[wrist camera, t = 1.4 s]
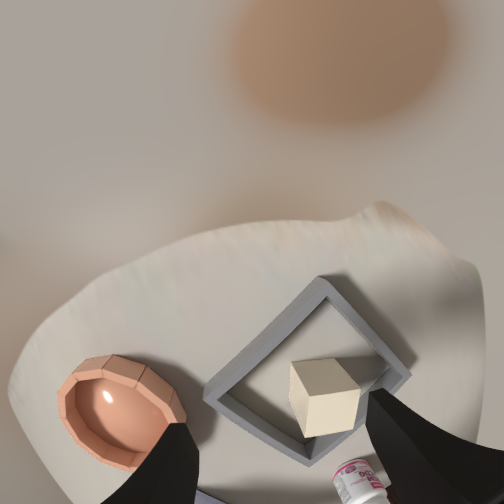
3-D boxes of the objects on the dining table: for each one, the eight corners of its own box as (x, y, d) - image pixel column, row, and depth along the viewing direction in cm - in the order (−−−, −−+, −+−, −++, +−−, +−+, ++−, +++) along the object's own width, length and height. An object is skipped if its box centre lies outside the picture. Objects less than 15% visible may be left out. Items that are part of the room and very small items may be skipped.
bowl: (211, 416, 24) (210, 435, 21) (141, 467, 23) (135, 485, 20) (109, 330, 22) (96, 342, 19) (54, 398, 22) (41, 411, 19)
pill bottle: (371, 454, 26) (401, 497, 18) (362, 478, 26) (387, 520, 18) (335, 462, 26) (360, 511, 17) (328, 485, 26) (349, 532, 18)
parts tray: (399, 365, 25) (412, 374, 23) (303, 452, 25) (308, 467, 23) (317, 275, 24) (327, 280, 21) (204, 385, 23) (202, 399, 21)
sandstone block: (333, 357, 24) (361, 388, 19) (329, 394, 25) (353, 429, 19) (290, 362, 24) (309, 396, 18) (288, 399, 24) (304, 437, 18)
